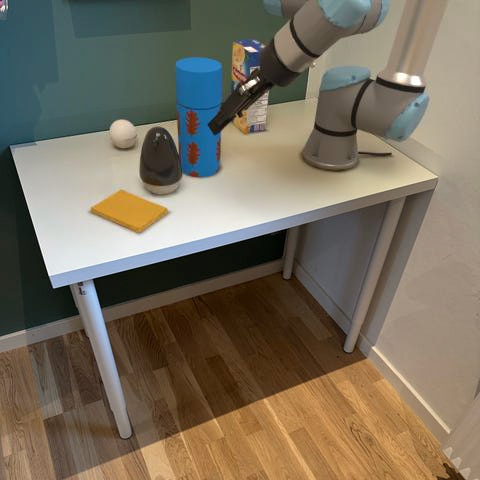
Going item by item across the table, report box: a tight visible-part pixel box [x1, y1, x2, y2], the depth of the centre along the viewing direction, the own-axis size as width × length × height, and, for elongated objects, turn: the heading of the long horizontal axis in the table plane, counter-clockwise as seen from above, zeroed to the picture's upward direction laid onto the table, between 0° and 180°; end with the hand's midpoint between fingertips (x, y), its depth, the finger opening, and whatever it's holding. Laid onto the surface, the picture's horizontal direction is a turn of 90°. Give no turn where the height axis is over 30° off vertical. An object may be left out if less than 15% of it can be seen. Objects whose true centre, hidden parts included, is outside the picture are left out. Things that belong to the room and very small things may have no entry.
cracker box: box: [230, 38, 270, 135], centre depth 137 cm, size 7×11×22 cm, turn 26°
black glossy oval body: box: [138, 125, 183, 195], centre depth 110 cm, size 10×10×15 cm
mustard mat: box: [90, 189, 169, 234], centre depth 107 cm, size 14×10×1 cm
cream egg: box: [108, 119, 138, 149], centre depth 128 cm, size 10×7×7 cm
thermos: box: [174, 56, 223, 178], centre depth 115 cm, size 11×11×25 cm
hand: (212, 129), depth 99 cm, fingers closed
